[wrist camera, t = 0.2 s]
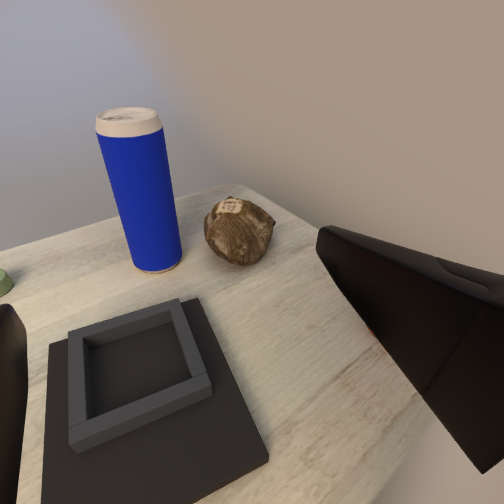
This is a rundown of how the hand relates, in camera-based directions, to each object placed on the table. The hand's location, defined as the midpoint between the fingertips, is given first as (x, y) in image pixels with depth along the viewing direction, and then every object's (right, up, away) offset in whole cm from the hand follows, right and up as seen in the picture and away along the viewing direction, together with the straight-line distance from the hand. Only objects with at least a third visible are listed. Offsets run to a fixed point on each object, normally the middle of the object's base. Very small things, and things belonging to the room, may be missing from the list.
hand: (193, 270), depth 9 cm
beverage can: (-8, 0, +25) cm, 26 cm away
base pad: (-6, -10, +12) cm, 17 cm away
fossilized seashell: (0, +1, +27) cm, 27 cm away
